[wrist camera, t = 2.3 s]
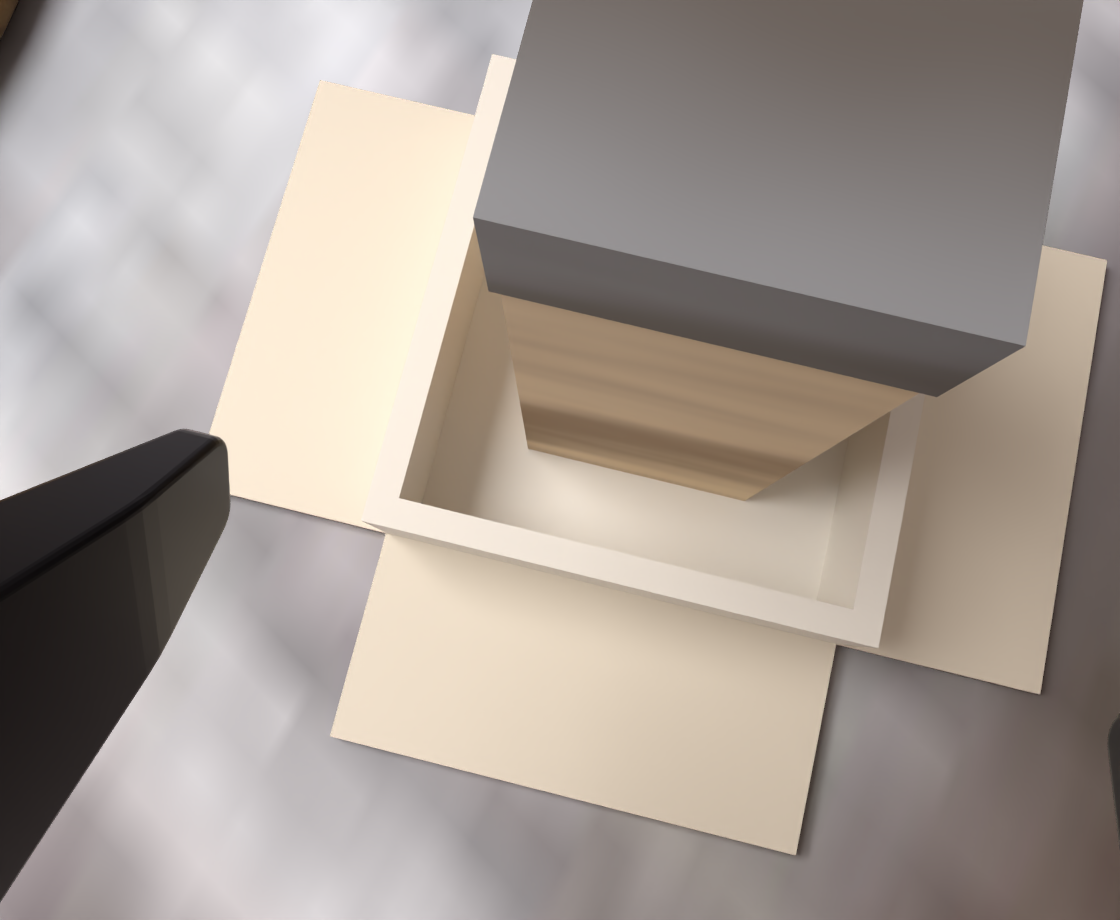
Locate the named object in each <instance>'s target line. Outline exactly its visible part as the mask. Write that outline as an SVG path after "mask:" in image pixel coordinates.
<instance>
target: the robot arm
mask: <svg viewBox="0 0 1120 920" xmlns="http://www.w3.org/2000/svg"><path fill="white" fill-rule="evenodd" d="M229 512H230V484H229V465H228V451H227V446H226V444H225V442H224V441H223V440H222V439H221V438H220V437H218V436H214V435H210V434H206V433H202V432H198V431H194V430H190V429H179V430H176V431H173V432H170V433H168V434H165V435H163V436H160V437H158V438H155V439H153V440H150V441H148V442H145V443H143V444H140V445H138V446H135V447H133V448H130V449H128V450H125V451H123V452H120V453H118V454H115V455H113V456H110V457H108V458H105V459H103V460H100V461H98V462H95V463H93V464H90V465H88V466H85V467H83V468H80V469H77V470H75V471H72V472H70V473H67V474H65V475H62V476H60V477H57V478H55V479H52V480H50V481H47V482H45V483H42V484H40V485H37V486H35V487H32V488H30V489H27V490H25V491H22V492H20V493H17V494H15V495H12V496H10V497H7V498H5V499H2V500H0V902H1V901H2V899H3V898H4V896H5V895H6V893H7V891H8V890H9V888H10V887H11V885H12V884H13V882H14V881H15V879H16V878H17V876H18V875H19V873H20V872H21V870H22V868H23V867H24V865H25V864H26V862H27V861H28V859H29V858H30V856H31V855H32V853H33V852H34V850H35V848H36V847H37V845H38V844H39V842H40V841H41V839H42V838H43V836H44V835H45V833H46V832H47V830H48V829H49V827H50V825H51V824H52V822H53V821H54V819H55V818H56V816H57V815H58V813H59V812H60V810H61V809H62V807H63V806H64V804H65V802H66V801H67V799H68V798H69V796H70V795H71V793H72V792H73V790H74V789H75V787H76V786H77V784H78V783H79V781H80V779H81V778H82V776H83V775H84V773H85V772H86V770H87V769H88V767H89V766H90V764H91V763H92V761H93V760H94V758H95V756H96V755H97V753H98V752H99V750H100V749H101V747H102V746H103V744H104V743H105V741H106V740H107V738H108V736H109V735H110V733H111V732H112V730H113V729H114V727H115V726H116V724H117V723H118V721H119V720H120V718H121V717H122V715H123V713H124V712H125V710H126V709H127V707H128V706H129V704H130V703H131V701H132V700H133V698H134V697H135V695H136V694H137V692H138V690H139V689H140V687H141V686H142V684H143V683H144V681H145V680H146V678H147V677H148V675H149V673H150V672H151V670H152V668H153V667H154V665H155V664H156V662H157V660H158V659H159V657H160V655H161V654H162V652H163V650H164V648H165V646H166V644H167V642H168V640H169V639H170V637H171V635H172V633H173V631H174V629H175V627H176V625H177V623H178V621H179V619H180V617H181V615H182V613H183V611H184V609H185V607H186V605H187V603H188V601H189V599H190V597H191V594H192V592H193V590H194V588H195V586H196V584H197V582H198V580H199V578H200V576H201V574H202V572H203V570H204V568H205V566H206V564H207V562H208V560H209V558H210V556H211V554H212V552H213V550H214V548H215V546H216V544H217V542H218V540H219V538H220V536H221V534H222V532H223V530H224V528H225V526H226V523H227V520H228V516H229ZM1108 756H1109V764H1110V772H1111V781H1112V789H1113V797H1114V806H1115V814H1116V823H1117V831H1118V839H1119V848H1120V714H1119V715H1118V716H1117V717H1116V719H1115V720H1114V722H1113V724H1112V726H1111V728H1110V731H1109V735H1108Z"/></svg>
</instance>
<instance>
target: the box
mask: <svg viewBox="0 0 1120 920" xmlns="http://www.w3.org/2000/svg"><path fill="white" fill-rule="evenodd" d="M1082 6H1083V0H533V2H532V5H531V9H530V12H529V16H528V20H527V23H526V27H525V30H524V34H523V38H522V41H521V45H520V49H519V52H518V56H517V59H516V63H515V67H514V70H513V74H512V77H511V81H510V85H509V88H508V92H507V95H506V99H505V103H504V106H503V110H502V114H501V117H500V121H499V124H498V128H497V132H496V135H495V139H494V142H493V146H492V150H491V153H490V157H489V161H488V164H487V168H486V171H485V175H484V179H483V182H482V186H481V189H480V193H479V197H478V200H477V204H476V208H475V211H474V215H473V221H474V225H475V230H476V235H477V239H478V244H479V249H480V254H481V258H482V263H483V268H484V272H485V277H486V282H487V287H488V291H489V292H493V293H497V294H501V299H502V304H503V310H504V316H505V321H506V327H507V333H508V338H509V344H510V350H511V355H512V361H513V367H514V372H515V378H516V384H517V389H518V395H519V401H520V406H521V412H522V418H523V423H524V429H525V435H526V441H527V446H528V449H531V450H535V451H539V452H543V453H548V454H552V455H556V456H560V457H564V458H568V459H572V460H576V461H581V462H585V463H589V464H593V465H597V466H601V467H605V468H610V469H614V470H618V471H622V472H626V473H630V474H634V475H638V476H643V477H647V478H651V479H655V480H659V481H663V482H667V483H672V484H676V485H680V486H684V487H688V488H692V489H696V490H700V491H705V492H709V493H713V494H717V495H721V496H725V497H729V498H734V499H738V500H742V501H745V500H747V499H749V498H750V497H752V496H753V495H755V494H757V493H758V492H760V491H762V490H763V489H765V488H766V487H768V486H770V485H771V484H773V483H775V482H776V481H778V480H779V479H781V478H783V477H784V476H786V475H787V474H789V473H791V472H792V471H794V470H796V469H797V468H799V467H800V466H802V465H804V464H805V463H807V462H809V461H810V460H812V459H813V458H815V457H817V456H818V455H820V454H822V453H823V452H825V451H826V450H828V449H830V448H831V447H833V446H835V445H836V444H838V443H839V442H841V441H843V440H844V439H846V438H848V437H849V436H851V435H852V434H854V433H856V432H857V431H859V430H860V429H862V428H864V427H865V426H867V425H869V424H870V423H872V422H873V421H875V420H877V419H878V418H880V417H882V416H883V415H885V414H886V413H888V412H890V411H891V410H893V409H895V408H896V407H898V406H899V405H901V404H903V403H904V402H906V401H908V400H909V399H911V398H912V397H914V396H916V395H917V394H919V393H921V394H925V395H929V396H934V397H938V396H940V395H942V394H944V393H945V392H947V391H949V390H950V389H952V388H954V387H956V386H957V385H959V384H961V383H963V382H964V381H966V380H968V379H970V378H971V377H973V376H975V375H976V374H978V373H980V372H982V371H983V370H985V369H987V368H989V367H990V366H992V365H994V364H996V363H997V362H999V361H1001V360H1002V359H1004V358H1006V357H1008V356H1009V355H1011V354H1013V353H1015V352H1016V351H1018V350H1020V349H1022V348H1023V347H1025V346H1026V341H1027V335H1028V329H1029V323H1030V317H1031V311H1032V305H1033V299H1034V293H1035V287H1036V281H1037V275H1038V269H1039V263H1040V257H1041V251H1042V245H1043V239H1044V233H1045V227H1046V222H1047V216H1048V210H1049V204H1050V198H1051V192H1052V186H1053V180H1054V174H1055V168H1056V162H1057V156H1058V150H1059V144H1060V138H1061V132H1062V126H1063V120H1064V114H1065V108H1066V102H1067V96H1068V90H1069V84H1070V78H1071V72H1072V66H1073V60H1074V54H1075V48H1076V42H1077V36H1078V30H1079V24H1080V18H1081V12H1082Z"/></svg>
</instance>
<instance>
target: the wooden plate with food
mask: <svg viewBox="0 0 1120 920" xmlns="http://www.w3.org/2000/svg"><path fill="white" fill-rule="evenodd" d="M18 2H19V0H0V40H1V37H2V35H3V33H4V31H5V29H6V27H7V25H8V23H9V21H10V19H11V17H12V14H13V12H14V10H15V8H16V6H17V4H18Z"/></svg>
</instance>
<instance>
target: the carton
mask: <svg viewBox="0 0 1120 920" xmlns="http://www.w3.org/2000/svg"><path fill="white" fill-rule="evenodd" d="M515 63H516V59H511V58H507V57H502V56H498V55H494V54H492V57H491V61H490V64H489V68H488V71H487V75H486V78H485V82H484V85H483V89H482V93H481V96H480V100H479V103H478V107H477V110H476V114H475V115H470V114H466V113H462V112H457V111H453V110H448V109H444V108H440V107H435V106H431V105H427V104H422V103H418V102H413V101H409V100H405V99H400V98H396V97H392V96H387V95H383V94H379V93H374V92H370V91H365V90H361V89H357V88H352V87H348V86H344V85H339V84H335V83H330V82H326V81H322V80H320V82H319V85H318V88H317V92H316V95H315V98H314V101H313V104H312V108H311V111H310V114H309V117H308V120H307V123H306V127H305V130H304V133H303V136H302V139H301V143H300V146H299V149H298V152H297V155H296V158H295V162H294V165H293V168H292V171H291V174H290V178H289V181H288V184H287V187H286V190H285V193H284V197H283V200H282V203H281V206H280V209H279V213H278V216H277V219H276V222H275V225H274V228H273V232H272V235H271V238H270V241H269V244H268V248H267V251H266V254H265V257H264V260H263V263H262V267H261V270H260V273H259V276H258V279H257V283H256V286H255V289H254V292H253V295H252V299H251V302H250V305H249V308H248V311H247V314H246V318H245V321H244V324H243V327H242V330H241V334H240V337H239V340H238V343H237V346H236V349H235V353H234V356H233V359H232V362H231V365H230V369H229V372H228V375H227V378H226V381H225V384H224V388H223V391H222V394H221V397H220V400H219V404H218V407H217V410H216V413H215V416H214V419H213V423H212V426H211V429H210V432H209V434H210V435H214V436H218V437H220V438H221V439H222V440H223V441H224V442H225V444H226V446H227V451H228V465H229V484H230V495H232V496H236V497H240V498H244V499H248V500H252V501H256V502H261V503H265V504H269V505H273V506H277V507H281V508H285V509H289V510H293V511H297V512H301V513H305V514H309V515H313V516H317V517H321V518H325V519H329V520H333V521H337V522H342V523H346V524H350V525H354V526H358V527H362V528H366V529H370V530H374V531H378V532H382V533H386V536H385V539H384V543H383V546H382V550H381V554H380V557H379V561H378V564H377V568H376V572H375V575H374V579H373V583H372V586H371V590H370V593H369V597H368V601H367V604H366V608H365V611H364V615H363V619H362V622H361V626H360V630H359V633H358V637H357V640H356V644H355V648H354V651H353V655H352V658H351V662H350V666H349V669H348V673H347V677H346V680H345V684H344V687H343V691H342V695H341V698H340V702H339V705H338V709H337V713H336V716H335V720H334V724H333V727H332V731H331V734H330V736H331V737H335V738H339V739H343V740H346V741H350V742H354V743H358V744H362V745H366V746H370V747H374V748H378V749H382V750H386V751H389V752H393V753H397V754H401V755H405V756H409V757H413V758H417V759H421V760H425V761H429V762H432V763H436V764H440V765H444V766H448V767H452V768H456V769H460V770H464V771H468V772H472V773H475V774H479V775H483V776H487V777H491V778H495V779H499V780H503V781H507V782H511V783H515V784H518V785H522V786H526V787H530V788H534V789H538V790H542V791H546V792H550V793H554V794H558V795H561V796H565V797H569V798H573V799H577V800H581V801H585V802H589V803H593V804H597V805H601V806H604V807H608V808H612V809H616V810H620V811H624V812H628V813H632V814H636V815H640V816H643V817H647V818H651V819H655V820H659V821H663V822H667V823H671V824H675V825H679V826H683V827H686V828H690V829H694V830H698V831H702V832H706V833H710V834H714V835H718V836H722V837H726V838H729V839H733V840H737V841H741V842H745V843H749V844H753V845H757V846H761V847H765V848H769V849H772V850H776V851H780V852H784V853H788V854H792V855H796V851H797V846H798V841H799V836H800V831H801V825H802V820H803V815H804V810H805V804H806V799H807V794H808V789H809V784H810V778H811V773H812V768H813V763H814V758H815V752H816V747H817V742H818V737H819V731H820V726H821V721H822V716H823V711H824V705H825V700H826V695H827V690H828V685H829V679H830V674H831V669H832V664H833V658H834V653H835V648H836V645H840V646H844V647H848V648H852V649H856V650H860V651H864V652H868V653H872V654H876V655H880V656H884V657H888V658H892V659H896V660H900V661H905V662H909V663H913V664H917V665H921V666H925V667H929V668H933V669H937V670H941V671H945V672H949V673H953V674H957V675H961V676H965V677H969V678H973V679H977V680H981V681H986V682H990V683H994V684H998V685H1002V686H1006V687H1010V688H1014V689H1018V690H1022V691H1026V692H1030V693H1035V694H1040V692H1041V686H1042V679H1043V673H1044V666H1045V660H1046V653H1047V647H1048V640H1049V634H1050V627H1051V621H1052V615H1053V608H1054V602H1055V595H1056V589H1057V582H1058V576H1059V569H1060V563H1061V556H1062V550H1063V543H1064V537H1065V530H1066V524H1067V517H1068V511H1069V504H1070V498H1071V491H1072V485H1073V478H1074V472H1075V465H1076V459H1077V453H1078V446H1079V440H1080V433H1081V427H1082V420H1083V414H1084V407H1085V401H1086V394H1087V388H1088V381H1089V375H1090V368H1091V362H1092V355H1093V349H1094V342H1095V336H1096V329H1097V323H1098V316H1099V310H1100V304H1101V297H1102V291H1103V284H1104V278H1105V271H1106V265H1107V260H1104V259H1100V258H1095V257H1091V256H1087V255H1082V254H1078V253H1073V252H1069V251H1065V250H1060V249H1056V248H1052V247H1047V246H1043V245H1042V251H1041V257H1040V263H1039V269H1038V275H1037V281H1036V287H1035V293H1034V299H1033V305H1032V311H1031V317H1030V323H1029V329H1028V335H1027V341H1026V346H1025V347H1023V348H1022V349H1020V350H1018V351H1016V352H1015V353H1013V354H1011V355H1009V356H1008V357H1006V358H1004V359H1002V360H1001V361H999V362H997V363H996V364H994V365H992V366H990V367H989V368H987V369H985V370H983V371H982V372H980V373H978V374H976V375H975V376H973V377H971V378H970V379H968V380H966V381H964V382H963V383H961V384H959V385H957V386H956V387H954V388H952V389H950V390H949V391H947V392H945V393H944V394H942V395H940V396H938V397H934V396H929V395H925V394H921V393H919V394H917V395H916V396H914V397H912V398H911V399H909V400H908V401H906V402H904V403H903V404H901V405H899V406H898V407H896V408H895V409H893V410H891V411H890V412H888V413H886V414H885V415H883V416H882V417H880V418H878V419H877V420H875V421H873V422H872V423H870V424H869V425H867V426H865V427H864V428H862V429H860V430H859V431H857V432H856V433H854V434H852V435H851V436H849V437H848V438H846V439H844V440H843V441H841V442H839V443H838V444H836V445H835V446H833V447H831V448H830V449H828V450H826V451H825V452H823V453H822V454H820V455H818V456H817V457H815V458H813V459H812V460H810V461H809V462H807V463H805V464H804V465H802V466H800V467H799V468H797V469H796V470H794V471H792V472H791V473H789V474H787V475H786V476H784V477H783V478H781V479H779V480H778V481H776V482H775V483H773V484H771V485H770V486H768V487H766V488H765V489H763V490H762V491H760V492H758V493H757V494H755V495H753V496H752V497H750V498H749V499H747V500H745V501H742V500H738V499H734V498H729V497H725V496H721V495H717V494H713V493H709V492H705V491H700V490H696V489H692V488H688V487H684V486H680V485H676V484H672V483H667V482H663V481H659V480H655V479H651V478H647V477H643V476H638V475H634V474H630V473H626V472H622V471H618V470H614V469H610V468H605V467H601V466H597V465H593V464H589V463H585V462H581V461H576V460H572V459H568V458H564V457H560V456H556V455H552V454H548V453H543V452H539V451H535V450H531V449H528V446H527V441H526V435H525V429H524V423H523V418H522V412H521V406H520V401H519V395H518V389H517V384H516V378H515V372H514V367H513V361H512V355H511V350H510V344H509V338H508V333H507V327H506V321H505V316H504V310H503V304H502V299H501V294H497V293H493V292H489V291H488V287H487V282H486V277H485V272H484V268H483V263H482V258H481V254H480V249H479V244H478V239H477V235H476V230H475V225H474V221H473V215H474V211H475V208H476V204H477V200H478V197H479V193H480V189H481V186H482V182H483V179H484V175H485V171H486V168H487V164H488V161H489V157H490V153H491V150H492V146H493V142H494V139H495V135H496V132H497V128H498V124H499V121H500V117H501V114H502V110H503V106H504V103H505V99H506V95H507V92H508V88H509V85H510V81H511V77H512V74H513V70H514V67H515Z"/></svg>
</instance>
